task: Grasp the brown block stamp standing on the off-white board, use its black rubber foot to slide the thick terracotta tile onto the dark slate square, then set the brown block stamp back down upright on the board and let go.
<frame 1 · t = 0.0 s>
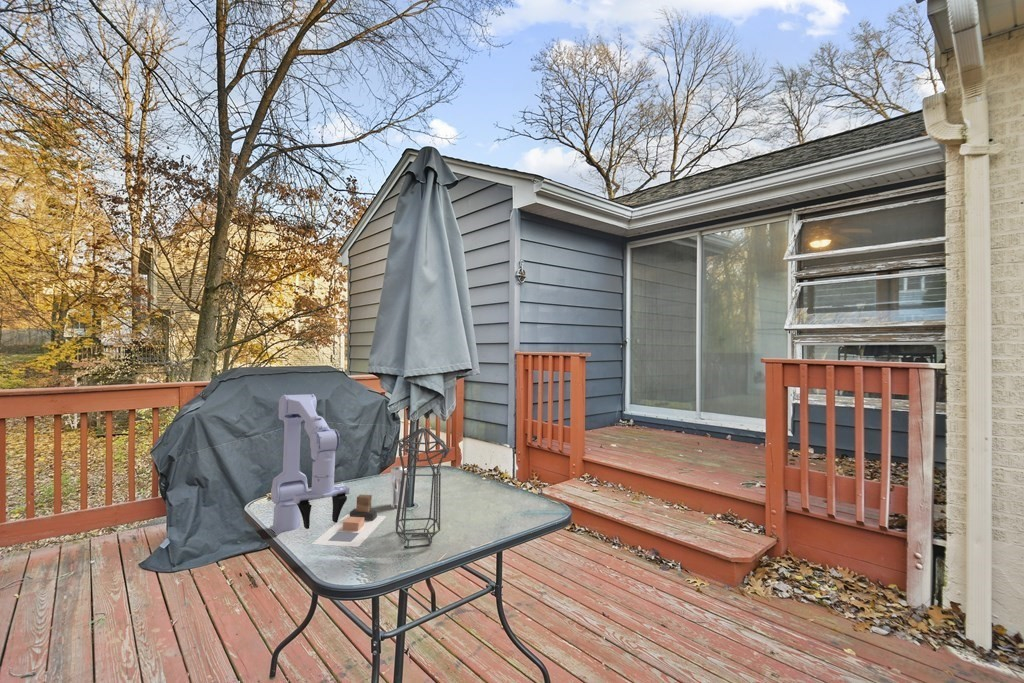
hand: (321, 524, 126), 10 cm above the table, tool pointing down, fingers open, 7 cm apart
beer glass: (398, 509, 171), on the table
tile: (353, 527, 148), point 1 cm above the table, touching board
geometric lantern: (419, 541, 142), on the table
board: (343, 540, 140), on the table
brown block stamp: (363, 518, 156), point 1 cm above the table, touching board
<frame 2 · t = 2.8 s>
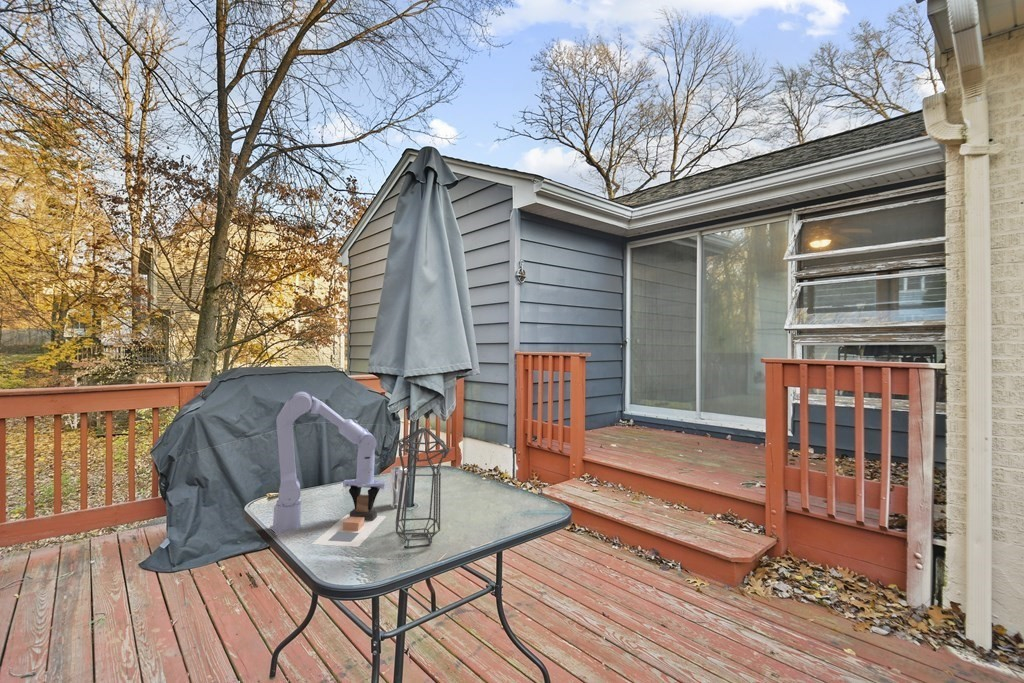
hand: (363, 508, 156), 4 cm above the table, tool pointing down, fingers closed on brown block stamp, 4 cm apart
brown block stamp: (363, 518, 156), point 1 cm above the table, touching board, gripper
everything else where it was.
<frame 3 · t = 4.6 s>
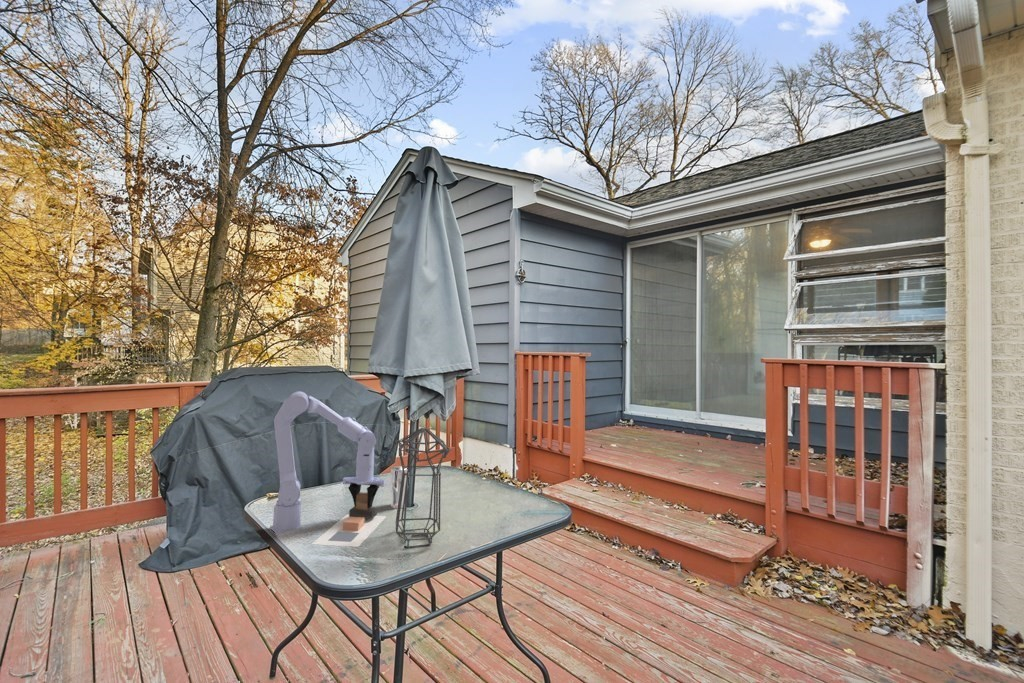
hand: (363, 506, 156), 5 cm above the table, tool pointing down, fingers closed on brown block stamp, 4 cm apart
brown block stamp: (363, 516, 156), point 2 cm above the table, touching gripper
everything else where it was.
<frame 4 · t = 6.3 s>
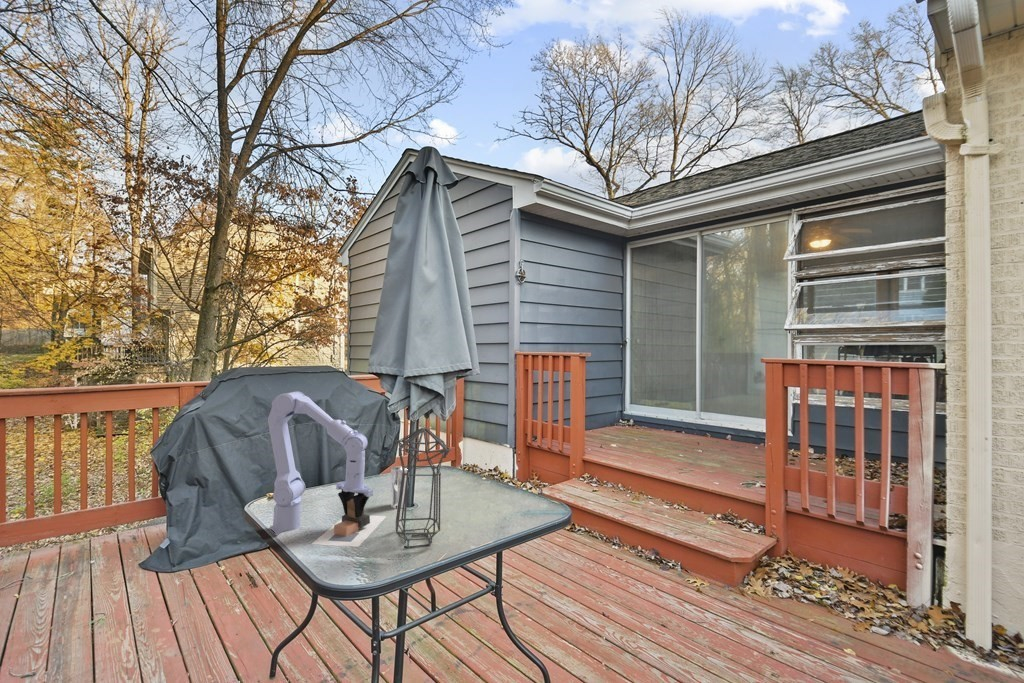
hand: (353, 515, 147), 5 cm above the table, tool pointing down, fingers closed on brown block stamp, 4 cm apart
tile: (345, 532, 144), point 1 cm above the table, touching board, brown block stamp
brown block stamp: (356, 523, 148), point 2 cm above the table, tilted 6°, touching gripper, tile
everything else where it was.
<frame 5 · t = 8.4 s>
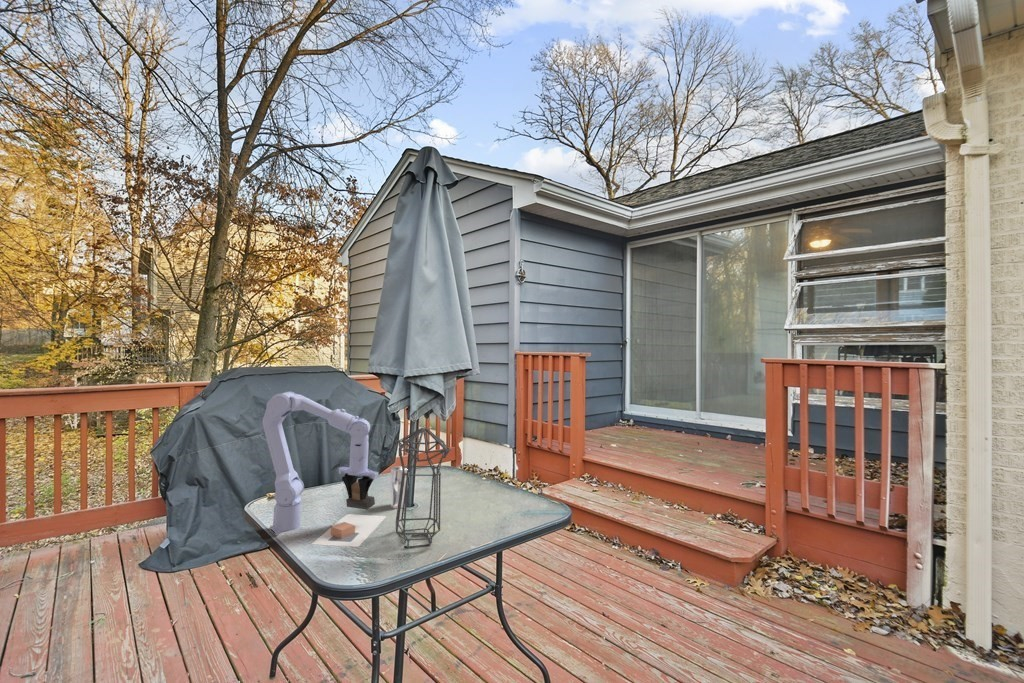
hand: (357, 498, 150), 10 cm above the table, tool pointing down, fingers closed on brown block stamp, 4 cm apart
tile: (342, 534, 142), point 1 cm above the table, touching board
brown block stamp: (360, 505, 152), point 7 cm above the table, tilted 11°, touching gripper
everything else where it was.
when the fingers open (5 cm above the table, at t = 10.3 s): brown block stamp drops 1 cm, resting on board.
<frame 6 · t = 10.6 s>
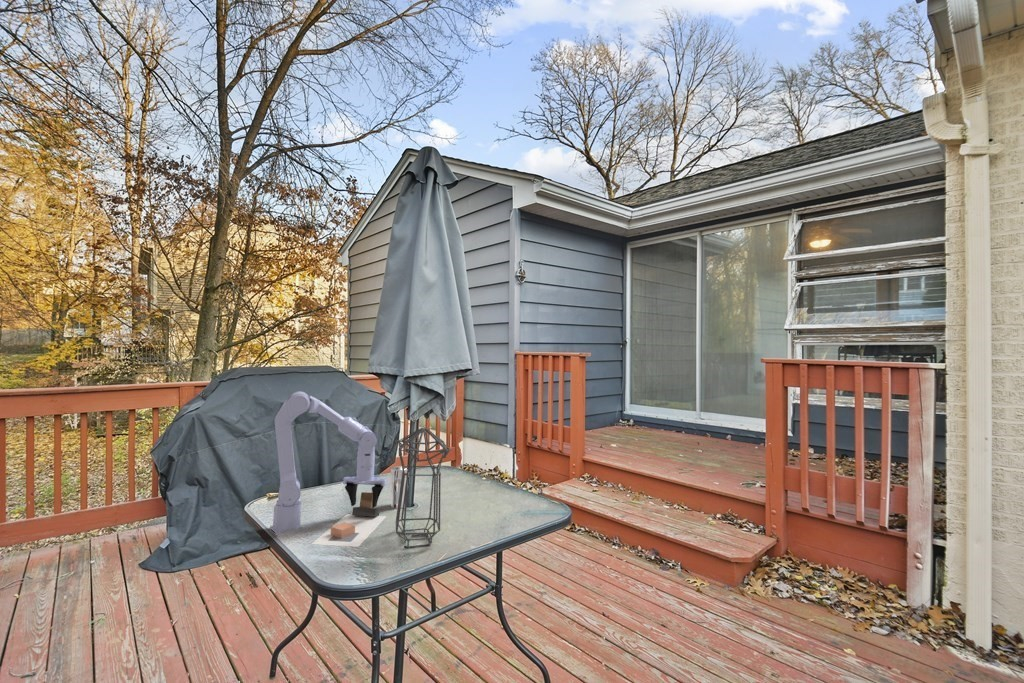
hand: (363, 505, 156), 5 cm above the table, tool pointing down, fingers open, 7 cm apart
brown block stamp: (365, 515, 158), point 2 cm above the table, tilted 15°, touching board
everything else where it was.
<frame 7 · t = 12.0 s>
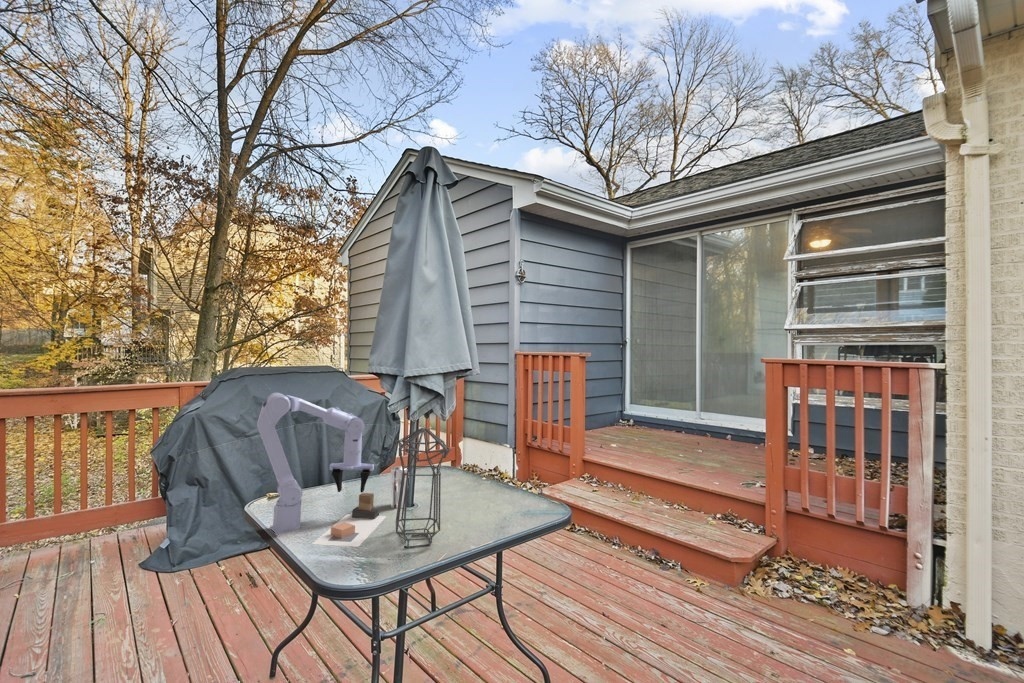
hand: (350, 491, 157), 10 cm above the table, tool pointing down, fingers open, 7 cm apart
brown block stamp: (365, 516, 158), point 1 cm above the table, touching board
everything else where it was.
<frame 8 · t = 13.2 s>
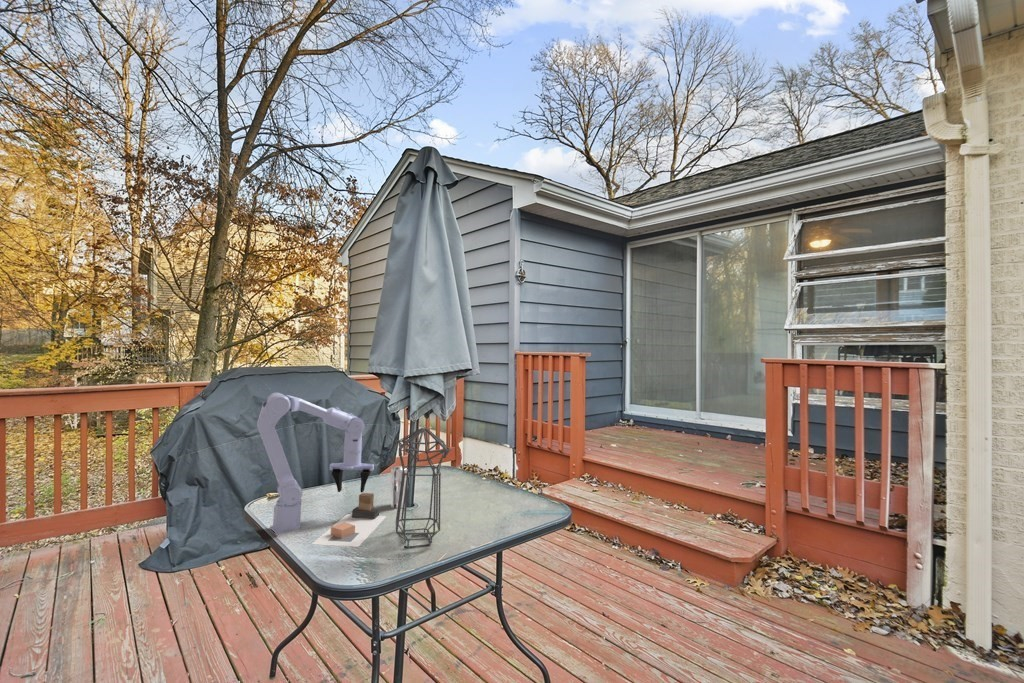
hand: (350, 491, 157), 10 cm above the table, tool pointing down, fingers open, 7 cm apart
nothing on the table moved.
at the end: tile 2.1 cm from the board (horizontally); the gripper is holding nothing; brown block stamp tilted 0° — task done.
